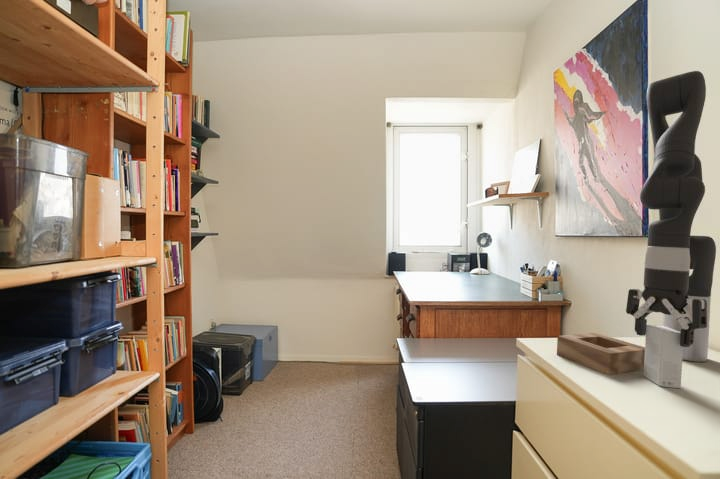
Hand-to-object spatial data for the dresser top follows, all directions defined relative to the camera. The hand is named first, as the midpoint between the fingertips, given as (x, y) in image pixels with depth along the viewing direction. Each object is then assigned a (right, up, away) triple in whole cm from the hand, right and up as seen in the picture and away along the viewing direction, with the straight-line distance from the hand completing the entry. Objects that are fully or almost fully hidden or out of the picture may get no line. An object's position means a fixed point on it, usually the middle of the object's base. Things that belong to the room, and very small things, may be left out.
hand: (661, 340), depth 78 cm
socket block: (-5, -9, +12) cm, 16 cm away
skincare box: (0, -10, 0) cm, 10 cm away
